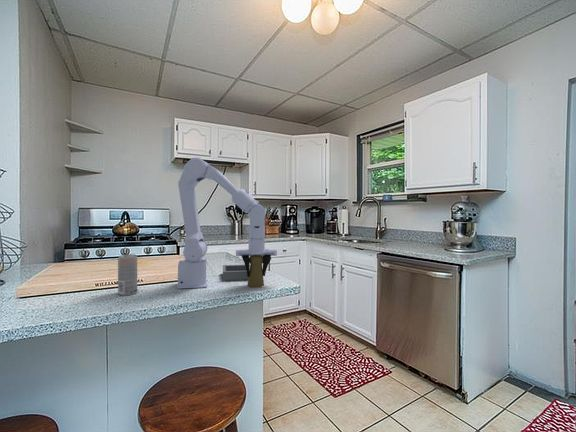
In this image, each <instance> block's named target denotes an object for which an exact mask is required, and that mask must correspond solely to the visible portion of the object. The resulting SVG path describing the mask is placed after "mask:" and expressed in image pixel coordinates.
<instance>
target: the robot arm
mask: <svg viewBox="0 0 576 432" xmlns="http://www.w3.org/2000/svg"><path fill="white" fill-rule="evenodd" d="M205 179H208V180H211V181H214V182H216V183H217V184H218V185H219V186H220V187H222V188H223V190H225V191H226V192H227V193H229V194H230V195H231V200H232V202H233V203H234V204H235V205H236V206H237V207H238V208H239V209H241V211H243V212H244V213H245V214H248V218H249V225H248V249H236V250H235V257H241V259H242V261H243V264H244V265H245V266H246V271H247V277H249V276H250V272H249V265H250V259H249V257H250V256H253V255H261V256H263V259H264V261H263V263H262V270H263V277H266V272H267V269H268V266H269V264H270V262H271V261H272V256H274V257H277V255H278V251H277V249H268V248H267V249H265V244H266V242H265V239H266V225H265V223H266V220H265V218H266V216H267V213H266V209H265V207H263V205H262V204H260V201H259V200H256V199H254V197H253V196H251V194H250V191H248V190H247V189H246V190H245V189H244V188H237V187H236V186H235V185H234V184H233V183H232V182H231V181H230V180H229V179H228V178H227V177H226V176H225V175H224V173H223V174H222V172H221V171H219V170H218V169H217V168H215V167H213V166H212V165H210V164H209V162H207V161H204V159H202V157H201V158H200V157H192V158H191V159H190V160H188V161H187V162H186V163H185V164H184V166H183V170H182V172H181V176H180V178H179V180H178V184H177V185H178V190H179V198H180V199H179V200H180V204H181V210H182V217H183V218H182V219H183V224H184V230H185V231H184V232H185V236H184V248H183V252H182V253H183V256H184V260H183V259H182V260H179V261H178V265H177V289H195V288H196V289H199V288H207V287H208V279H207V257H206V256H205V254H206V253H207V252H208V244H207V242H206V241H205V240H204V235H203V233H202V231H201V224H200V218H199V211H198V206H197V205H198V204H197V198H196V190H195V188H196V186H197V185H198V184H199V183H200V182H201V181H203V180H205Z"/></svg>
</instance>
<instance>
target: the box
mask: <svg viewBox="0 0 576 432" xmlns="http://www.w3.org/2000/svg"><path fill="white" fill-rule="evenodd" d="M249 271H250V264H249ZM248 278H249V277H247V271H246V266H245V264H223V265H222V282H237V281H238V282H239V281H240V282H243V281H248Z"/></svg>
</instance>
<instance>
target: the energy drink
mask: <svg viewBox="0 0 576 432" xmlns="http://www.w3.org/2000/svg"><path fill="white" fill-rule="evenodd" d="M137 292H138V255H137V254H134V253H130V254H129V253H128V254H121V255H119V256H118V258H117V293H118V295H119V296H123V297H125V296H127V297H128V296H132V295H135V294H137Z"/></svg>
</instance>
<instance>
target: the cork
mask: <svg viewBox="0 0 576 432" xmlns="http://www.w3.org/2000/svg"><path fill="white" fill-rule="evenodd" d="M249 259H250V263H249V265H250V271H249V272H250V276H249V278H248V280H247V287H249V288H253V287H254V288H263V287H264V286H265V280H264V276H263V270H262V269H263V261H264V259H263V256H261V255H253V256H249ZM262 286H263V287H262Z"/></svg>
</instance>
